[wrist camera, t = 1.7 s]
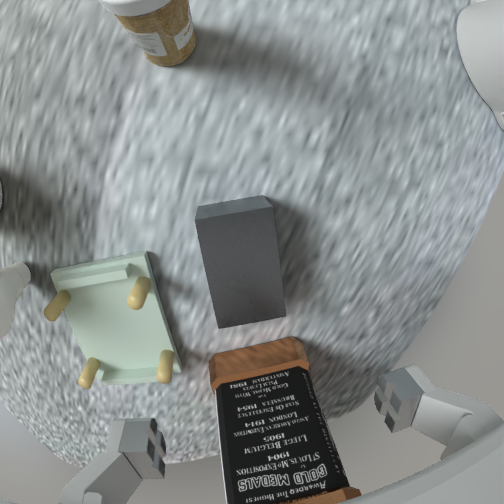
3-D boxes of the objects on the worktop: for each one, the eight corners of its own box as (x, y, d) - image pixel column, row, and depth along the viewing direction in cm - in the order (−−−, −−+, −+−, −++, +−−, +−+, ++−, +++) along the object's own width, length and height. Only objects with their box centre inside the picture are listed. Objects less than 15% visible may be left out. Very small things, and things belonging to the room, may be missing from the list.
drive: (262, 195, 27) (272, 206, 22) (274, 289, 30) (286, 316, 25) (198, 206, 26) (194, 219, 22) (217, 299, 29) (218, 328, 25)
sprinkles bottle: (206, 48, 22) (203, -32, 9) (159, 77, 22) (111, 20, 9) (179, 12, 20) (156, -79, 7) (133, 40, 20) (74, -31, 8)
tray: (146, 250, 27) (135, 271, 22) (182, 365, 31) (179, 395, 27) (55, 269, 26) (33, 289, 22) (99, 373, 31) (89, 401, 26)
